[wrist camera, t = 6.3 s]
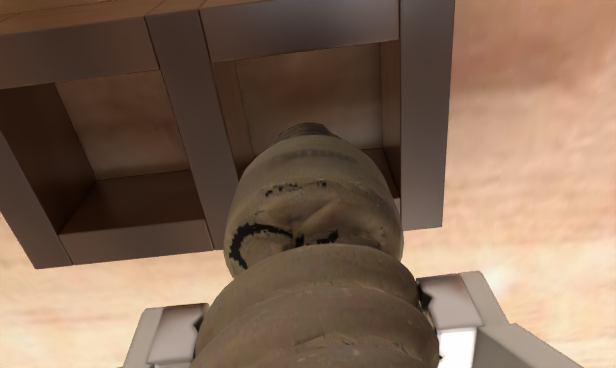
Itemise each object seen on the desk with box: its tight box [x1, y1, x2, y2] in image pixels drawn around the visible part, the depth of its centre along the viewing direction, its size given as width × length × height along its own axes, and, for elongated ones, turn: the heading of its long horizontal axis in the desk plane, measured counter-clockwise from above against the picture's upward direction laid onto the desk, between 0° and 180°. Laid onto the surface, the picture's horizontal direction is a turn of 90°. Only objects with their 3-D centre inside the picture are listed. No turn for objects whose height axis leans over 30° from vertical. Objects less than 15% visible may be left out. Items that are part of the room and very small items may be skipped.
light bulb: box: [189, 123, 439, 368], centre depth 12 cm, size 6×6×15 cm
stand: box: [0, 0, 455, 269], centre depth 21 cm, size 20×11×5 cm, turn 97°
